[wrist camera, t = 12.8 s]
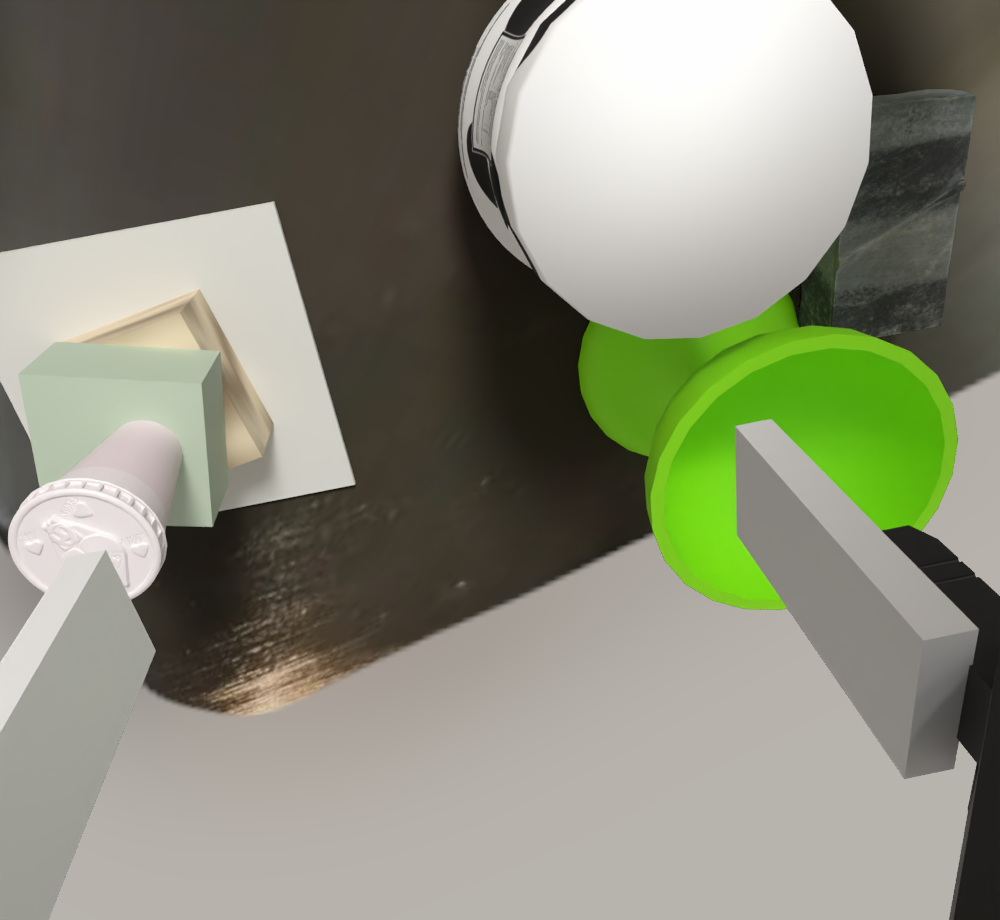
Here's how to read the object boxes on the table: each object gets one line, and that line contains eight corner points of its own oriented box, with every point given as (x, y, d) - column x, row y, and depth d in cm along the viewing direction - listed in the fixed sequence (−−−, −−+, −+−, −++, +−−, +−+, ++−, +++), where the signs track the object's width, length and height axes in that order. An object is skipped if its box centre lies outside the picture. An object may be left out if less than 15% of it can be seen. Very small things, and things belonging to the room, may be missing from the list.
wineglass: (747, 197, 51) (905, 266, 35) (829, 386, 58) (991, 515, 42) (536, 329, 53) (594, 450, 37) (640, 495, 60) (725, 655, 45)
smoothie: (150, 520, 45) (56, 699, 33) (57, 442, 42) (-83, 607, 30) (233, 458, 44) (168, 620, 31) (143, 373, 41) (34, 515, 29)
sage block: (55, 341, 45) (18, 374, 40) (220, 350, 46) (201, 383, 41) (78, 479, 49) (46, 522, 44) (228, 484, 50) (212, 526, 46)
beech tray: (54, 344, 50) (21, 373, 45) (199, 288, 49) (179, 313, 45) (140, 472, 54) (117, 510, 50) (273, 423, 54) (262, 456, 49)
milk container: (763, 199, 51) (927, 269, 35) (517, 308, 52) (569, 422, 37) (691, -103, 43) (863, -189, 27) (403, 36, 44) (405, 32, 28)
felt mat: (-56, 262, 47) (-59, 264, 47) (274, 201, 47) (273, 202, 47) (82, 535, 57) (80, 538, 56) (355, 481, 57) (355, 484, 57)
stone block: (948, 84, 49) (1005, 88, 45) (913, 305, 56) (960, 329, 51) (810, 101, 49) (854, 107, 44) (793, 323, 55) (829, 348, 51)
